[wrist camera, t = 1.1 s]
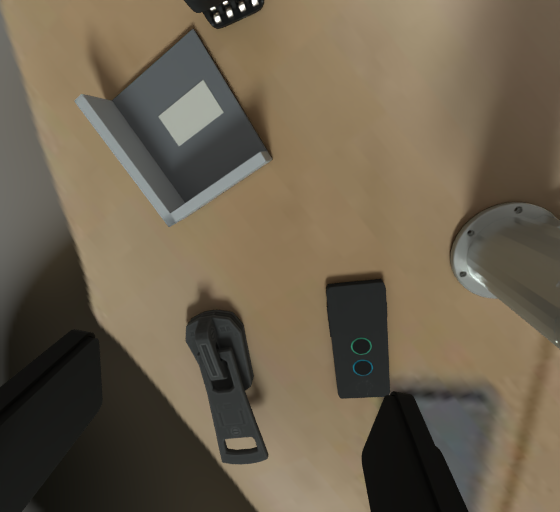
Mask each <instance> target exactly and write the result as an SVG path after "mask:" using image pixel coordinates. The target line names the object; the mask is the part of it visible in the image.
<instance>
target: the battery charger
mask: <svg viewBox="0 0 560 512" xmlns="http://www.w3.org/2000/svg"><path fill="white" fill-rule="evenodd" d="M184 1H185V2H186V3H187V5H188V6H189V7H190V8H191V9H192V10H193V11H194V12H196V13H201V12H203V14H204V15H205V17H206V19H207V20H208V22H209V23H210V24H211V25H212V26H213V27H214V28H217V29H220V28H223V27H226V26H228V25H230V24H232V23H235V22H237V21H239V20H241V19H243V18H246V17H248V16H250V15H252V14H254V13H256V12H258V11H259V10H261V9H262V7H263V5H264V0H184Z"/></svg>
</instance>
